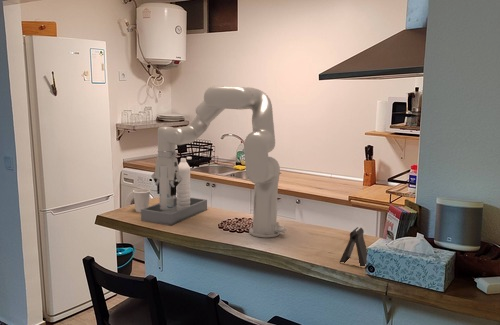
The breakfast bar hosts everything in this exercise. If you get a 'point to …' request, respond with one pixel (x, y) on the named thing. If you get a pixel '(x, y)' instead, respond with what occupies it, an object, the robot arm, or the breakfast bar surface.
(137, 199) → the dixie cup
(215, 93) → the robot arm
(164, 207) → the spray can
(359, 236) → the phone stand
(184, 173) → the water bottle
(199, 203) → the tray
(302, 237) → the breakfast bar surface
